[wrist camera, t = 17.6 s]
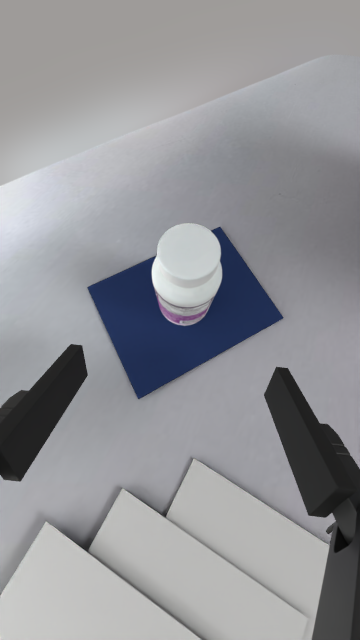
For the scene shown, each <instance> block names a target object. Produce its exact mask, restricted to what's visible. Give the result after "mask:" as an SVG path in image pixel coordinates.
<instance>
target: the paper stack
mask: <svg viewBox="0 0 360 640" xmlns="http://www.w3.org/2000/svg"><path fill="white" fill-rule="evenodd" d="M329 547H330V546H329V545H328V544H326V543H325V542H323V541H322V540H320V539H319V538H317V537H315V536H314V535H312V534H311V533H309V532H308V531H306V530H305V529H303V528H301V527H300V526H298V525H297V524H295V523H294V522H292V521H291V520H289V519H288V518H286V517H284V516H283V515H281V514H280V513H278V512H277V511H275V510H274V509H272V508H271V507H269V506H267V505H266V504H264V503H263V502H261V501H260V500H258V499H257V498H255V497H254V496H252V495H250V494H249V493H247V492H246V491H244V490H243V489H241V488H240V487H238V486H237V485H235V484H233V483H232V482H230V481H229V480H227V479H226V478H224V477H223V476H221V475H219V474H218V473H216V472H215V471H213V470H212V469H210V468H209V467H207V466H206V465H204V464H202V463H201V462H199V461H198V460H196V459H195V458H194V459H193V462H192V464H191V466H190V468H189V470H188V472H187V474H186V476H185V478H184V480H183V482H182V484H181V486H180V488H179V490H178V492H177V494H176V496H175V499H174V501H173V503H172V505H171V507H170V509H169V511H168V513H167V515H166V517H163V516H162V515H160V514H159V513H157V512H156V511H155V510H153V509H152V508H150V507H149V506H147V505H146V504H145V503H143V502H142V501H140V500H139V499H137V498H136V497H135V496H133V495H132V494H130V493H129V492H127V491H126V490H125V489H123V488H122V490H121V491H120V493H119V495H118V497H117V499H116V501H115V502H114V504H113V506H112V508H111V510H110V511H109V513H108V515H107V517H106V519H105V520H104V522H103V524H102V526H101V528H100V530H99V531H98V533H97V535H96V537H95V539H94V540H93V542H92V544H91V546H90V548H89V549H88V551H87V552H86V551H85V550H84V549H82V548H81V547H80V546H78V545H77V544H76V543H74V542H73V541H72V540H71V539H69V538H68V537H67V536H65V535H64V534H63V533H61V532H60V531H59V530H57V529H56V528H55V527H53V526H52V525H51V524H50V523H48V522H47V521H46V522H45V524H44V526H43V527H42V529H41V530H40V532H39V534H38V535H37V537H36V539H35V540H34V542H33V543H32V545H31V547H30V548H29V550H28V552H27V553H26V555H25V556H24V558H23V560H22V561H21V563H20V565H19V566H18V568H17V570H16V571H15V573H14V574H13V576H12V578H11V579H10V581H9V583H8V584H7V586H6V587H5V589H4V591H3V592H2V594H1V596H0V640H312V635H313V630H314V624H315V619H316V614H317V609H318V604H319V598H320V593H321V588H322V583H323V578H324V573H325V567H326V562H327V557H328V552H329Z"/></svg>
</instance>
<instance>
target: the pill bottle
mask: <svg viewBox="0 0 360 640" xmlns="http://www.w3.org/2000/svg"><path fill="white" fill-rule="evenodd" d="M220 257H221V248H220V244H219V241H218V239H217V238H216V236H215V235H214V234H213V233H212V232H211V231H210V230H209V229H207V228H205V227H203V226H201V225H198V224H193V223H185V224H179V225H176V226H174V227H172V228H170V229H169V230H168V231H166V232H165V233H164V234H163V236H162V237H161V239H160V241H159V243H158V247H157V256H156V258H155V260H154V263H153V266H152V282H153V285H154V289H155V292H156V296H157V299H158V303H159V307H160V309H161V312H162V313H163V315H164V316H165V317H166V318H167V319H168V320H169V321H171V322H172V323H174V324H177V325H183V326H187V325H192V324H195V323H196V322H198V321H200V320H201V319H202V318H203V317H204V316H205V315H206V313H207V311H208V309H209V307H210V305H211V302H212V300H213V298H214V296H215V294H216V292H217V290H218V288H219V286H220V284H221V280H222V266H221V263H220Z"/></svg>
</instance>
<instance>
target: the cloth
mask: <svg viewBox="0 0 360 640" xmlns="http://www.w3.org/2000/svg"><path fill="white" fill-rule="evenodd" d="M211 232H212V233H213V234H214V235H215V236H216V238H217V239H218V241H219V244H220V248H221V257H220V263H221V266H222V280H221V284H220V286H219V288H218V290H217V292H216V294H215V296H214V298H213V300H212V302H211V305H210V307H209V309H208V311H207V313H206V315H205V316H204V317H203V318H202V319H201V320H200V321H198V322H196V323H195V324H192V325H187V326H183V325H177V324H174V323H172V322H171V321H169V320H168V319H167V318H166V317H165V316H164V315H163V313H162V312H161V309H160V307H159V303H158V299H157V296H156V292H155V289H154V285H153V282H152V266H153V263H154V260H155V258H156V256H155V257H153V258H150V259H148V260H146V261H144V262H142V263H139V264H137V265H135V266H133V267H131V268H129V269H126V270H124V271H122V272H120V273H118V274H115V275H113V276H111V277H109V278H107V279H104V280H102V281H100V282H98V283H96V284H93V285H91V286H89V287H87V288H88V290H89V292H90V294H91V296H92V299H93V301H94V303H95V305H96V307H97V310H98V312H99V314H100V316H101V318H102V321H103V323H104V325H105V327H106V329H107V331H108V334H109V336H110V338H111V340H112V342H113V345H114V347H115V349H116V351H117V353H118V356H119V358H120V360H121V362H122V364H123V367H124V369H125V371H126V373H127V375H128V378H129V380H130V382H131V384H132V386H133V389H134V391H135V393H136V395H137V397H138V399H140V398H142V397H143V396H145V395H147V394H149V393H150V392H152V391H154V390H156V389H158V388H159V387H161V386H163V385H165V384H167V383H168V382H170V381H172V380H174V379H175V378H177V377H179V376H181V375H183V374H184V373H186V372H188V371H190V370H192V369H193V368H195V367H197V366H199V365H200V364H202V363H204V362H206V361H208V360H209V359H211V358H213V357H215V356H217V355H218V354H220V353H222V352H224V351H225V350H227V349H229V348H231V347H233V346H234V345H236V344H238V343H240V342H242V341H243V340H245V339H247V338H249V337H250V336H252V335H254V334H256V333H258V332H259V331H261V330H263V329H265V328H267V327H268V326H270V325H272V324H274V323H275V322H277V321H279V320H281V319H283V316H282V315H281V314H280V312H279V311H278V309H277V308H276V306H275V305H274V303H273V302H272V301H271V299H270V298H269V296H268V295H267V293H266V292H265V290H264V289H263V288H262V286H261V285H260V283H259V282H258V280H257V279H256V278H255V276H254V275H253V273H252V272H251V270H250V269H249V267H248V266H247V265H246V263H245V262H244V260H243V259H242V257H241V256H240V255H239V253H238V252H237V250H236V249H235V247H234V246H233V244H232V243H231V242H230V240H229V239H228V237H227V236H226V234H225V233H224V231H223V230H222V229H221V227H218V228H216V229H214V230H212V231H211Z"/></svg>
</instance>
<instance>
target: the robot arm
mask: <svg viewBox="0 0 360 640" xmlns="http://www.w3.org/2000/svg"><path fill="white" fill-rule="evenodd" d="M86 377H87V369H86V364H85V359H84V353H83V348H82V345H73V344H71V345H70V346H69V347H68V348H67V349H66V350H65V351H64V352H63V353H62V355H61V356H60V357H59V358H58V359H57V360H56V361H55V362H54V363H53V365H52V366H51V367H50V368H49V369H48V370H47V371H46V372H45V373H44V375H43V376H42V377H41V378H40V379H39V380H38V381H37V382H36V384H35V385H34V386H33V387H32V388H31V389H30V390H29V391H24V390H21V391H19V392H18V393H16V394H15V395H13V396H12V397H10V398H9V399H8V400H7V401H6V402H5V403H4V404H3V405H2V406H1V408H0V475H1V476H2V478H3V479H4V480H11V481H21V480H22V478H23V477H24V475H25V473H26V472H27V470H28V469H29V467H30V466H31V464H32V462H33V461H34V459H35V458H36V456H37V455H38V453H39V451H40V450H41V448H42V447H43V445H44V443H45V442H46V440H47V439H48V437H49V436H50V434H51V432H52V431H53V429H54V428H55V426H56V424H57V423H58V421H59V420H60V418H61V417H62V415H63V413H64V412H65V410H66V409H67V407H68V405H69V404H70V402H71V401H72V399H73V398H74V396H75V394H76V393H77V391H78V390H79V388H80V387H81V385H82V383H83V382H84V380H85V379H86ZM264 396H265V399H266V402H267V404H268V407H269V410H270V412H271V415H272V418H273V420H274V423H275V426H276V429H277V431H278V434H279V437H280V439H281V442H282V445H283V447H284V450H285V453H286V456H287V458H288V461H289V464H290V466H291V469H292V472H293V475H294V477H295V480H296V483H297V485H298V488H299V491H300V493H301V496H302V499H303V502H304V504H305V507H306V510H307V512H308V515H309V516H317V517H325V518H326V517H327V516H328V515H329V514H331V513H333V515H334V517H335V520H336V522H334V523H333V524H332V525H330V526H329V527H328V528H327V530H326V532H327V533H328V534H329V533H331V532H332V536H331V541H330V547H329V552H328V557H327V562H326V567H325V573H324V578H323V583H322V588H321V593H320V598H319V604H318V609H317V614H316V619H315V624H314V630H313V635H312V640H360V469H359V467H358V466H357V464H356V463H355V461H354V460H353V458H352V457H351V456H350V453H349V452H348V450H347V448H346V447H344V444H343V442H342V440H341V439H340V437H339V436H338V434H337V433H336V432H335V431H334V430H333V429H332V428H331V427H330V426H329V425H328V424H320V423H319V421H318V420H317V418H316V416H315V415H314V413H313V411H312V409H311V408H310V406H309V404H308V402H307V401H306V399H305V397H304V395H303V394H302V392H301V390H300V389H299V387H298V385H297V383H296V382H295V380H294V378H293V376H292V375H291V373H290V371H289V370H288V368H281V367H276V369H275V371H274V373H273V376H272V378H271V380H270V383H269V385H268V387H267V390H266V392H265V394H264Z"/></svg>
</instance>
